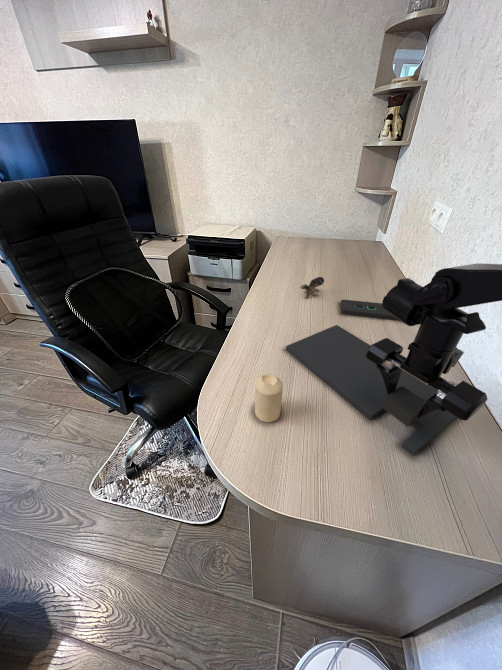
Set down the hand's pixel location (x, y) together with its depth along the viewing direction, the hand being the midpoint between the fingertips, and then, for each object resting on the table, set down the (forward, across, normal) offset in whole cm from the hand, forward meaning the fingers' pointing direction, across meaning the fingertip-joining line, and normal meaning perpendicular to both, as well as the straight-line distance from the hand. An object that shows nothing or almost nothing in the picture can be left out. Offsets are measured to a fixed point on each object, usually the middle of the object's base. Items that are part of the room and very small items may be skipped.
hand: (404, 405), depth 54 cm
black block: (+1, 0, 0) cm, 1 cm away
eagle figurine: (+6, +54, -27) cm, 61 cm away
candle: (+6, +17, +20) cm, 27 cm away
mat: (+6, +13, -7) cm, 16 cm away
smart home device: (+6, +33, -35) cm, 48 cm away
